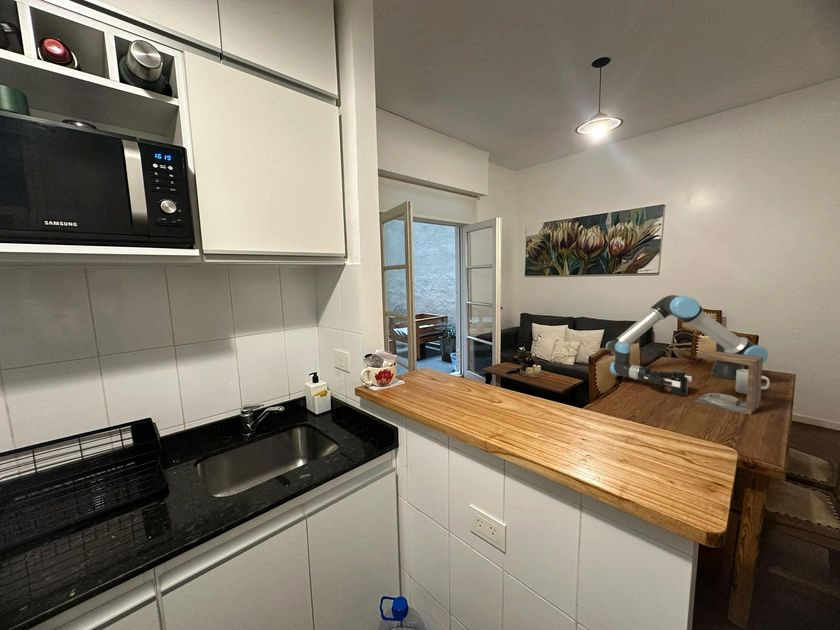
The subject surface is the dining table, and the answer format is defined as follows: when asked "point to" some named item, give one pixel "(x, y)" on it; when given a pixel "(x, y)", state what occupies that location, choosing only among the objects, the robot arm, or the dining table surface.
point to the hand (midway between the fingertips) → (686, 381)
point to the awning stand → (753, 383)
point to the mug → (746, 381)
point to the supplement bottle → (681, 378)
